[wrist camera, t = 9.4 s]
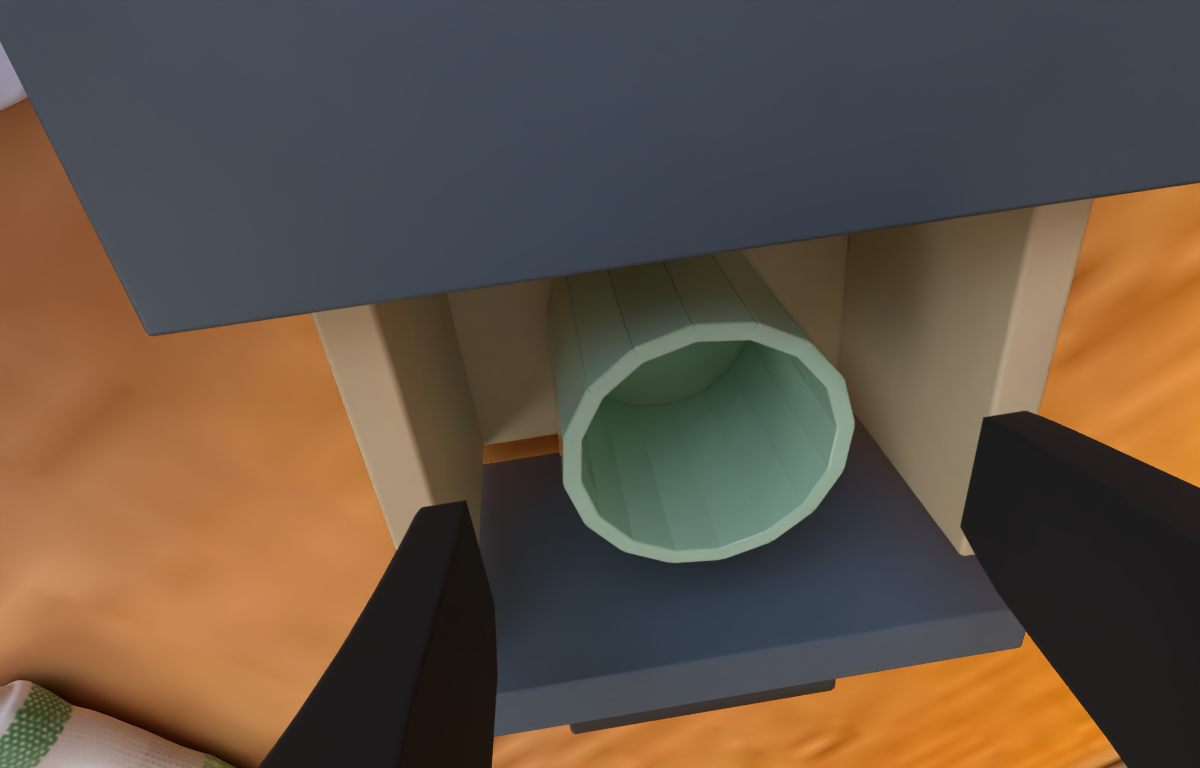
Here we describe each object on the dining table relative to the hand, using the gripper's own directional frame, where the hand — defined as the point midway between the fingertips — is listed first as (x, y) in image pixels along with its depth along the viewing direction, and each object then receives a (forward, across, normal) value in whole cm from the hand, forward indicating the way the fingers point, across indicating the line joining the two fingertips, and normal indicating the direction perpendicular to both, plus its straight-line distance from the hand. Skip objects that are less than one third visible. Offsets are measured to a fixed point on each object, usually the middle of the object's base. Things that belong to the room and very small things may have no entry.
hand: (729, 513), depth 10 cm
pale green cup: (+6, 0, 0) cm, 6 cm away
